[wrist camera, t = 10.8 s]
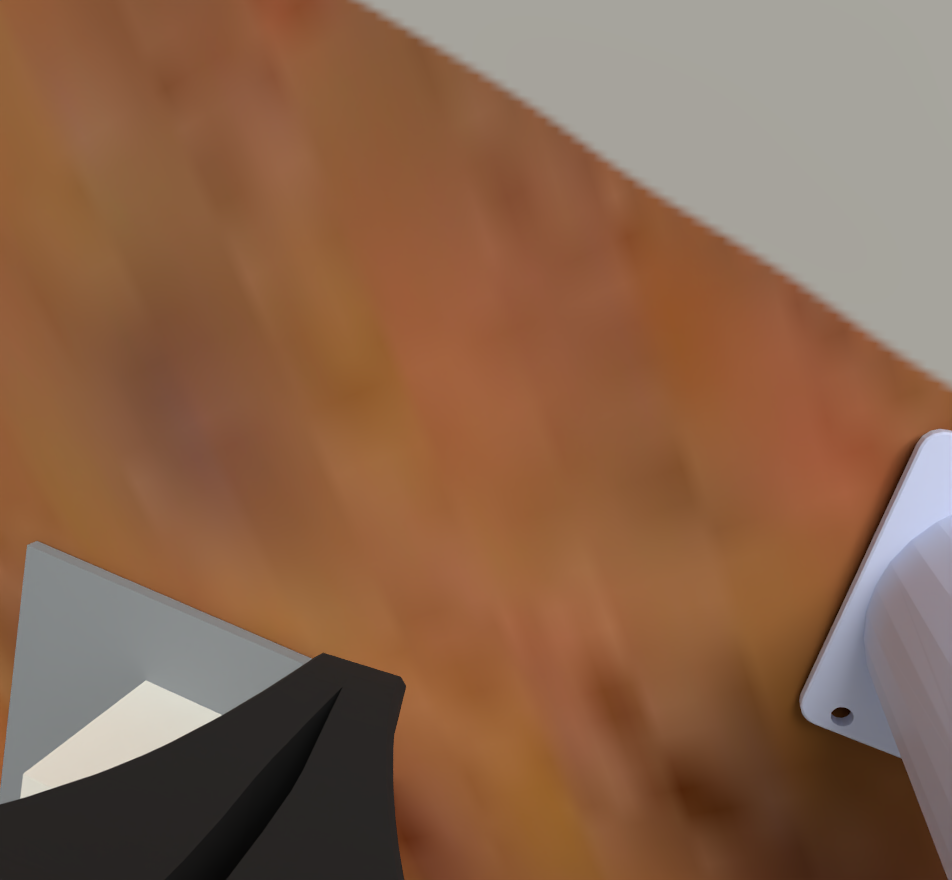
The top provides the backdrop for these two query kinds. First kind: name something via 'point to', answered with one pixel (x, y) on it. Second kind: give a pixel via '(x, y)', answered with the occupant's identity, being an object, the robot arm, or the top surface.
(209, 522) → the top surface
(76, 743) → the block
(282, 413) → the top surface
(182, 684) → the grey flat panel
